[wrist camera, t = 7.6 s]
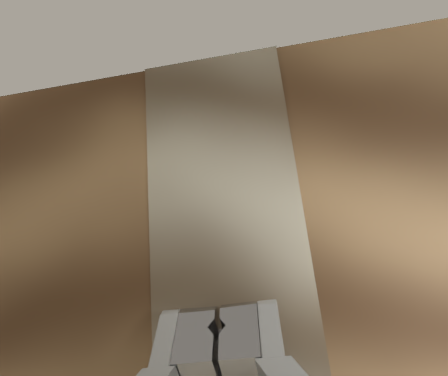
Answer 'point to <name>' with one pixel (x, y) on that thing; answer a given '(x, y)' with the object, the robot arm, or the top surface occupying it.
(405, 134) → the lid
